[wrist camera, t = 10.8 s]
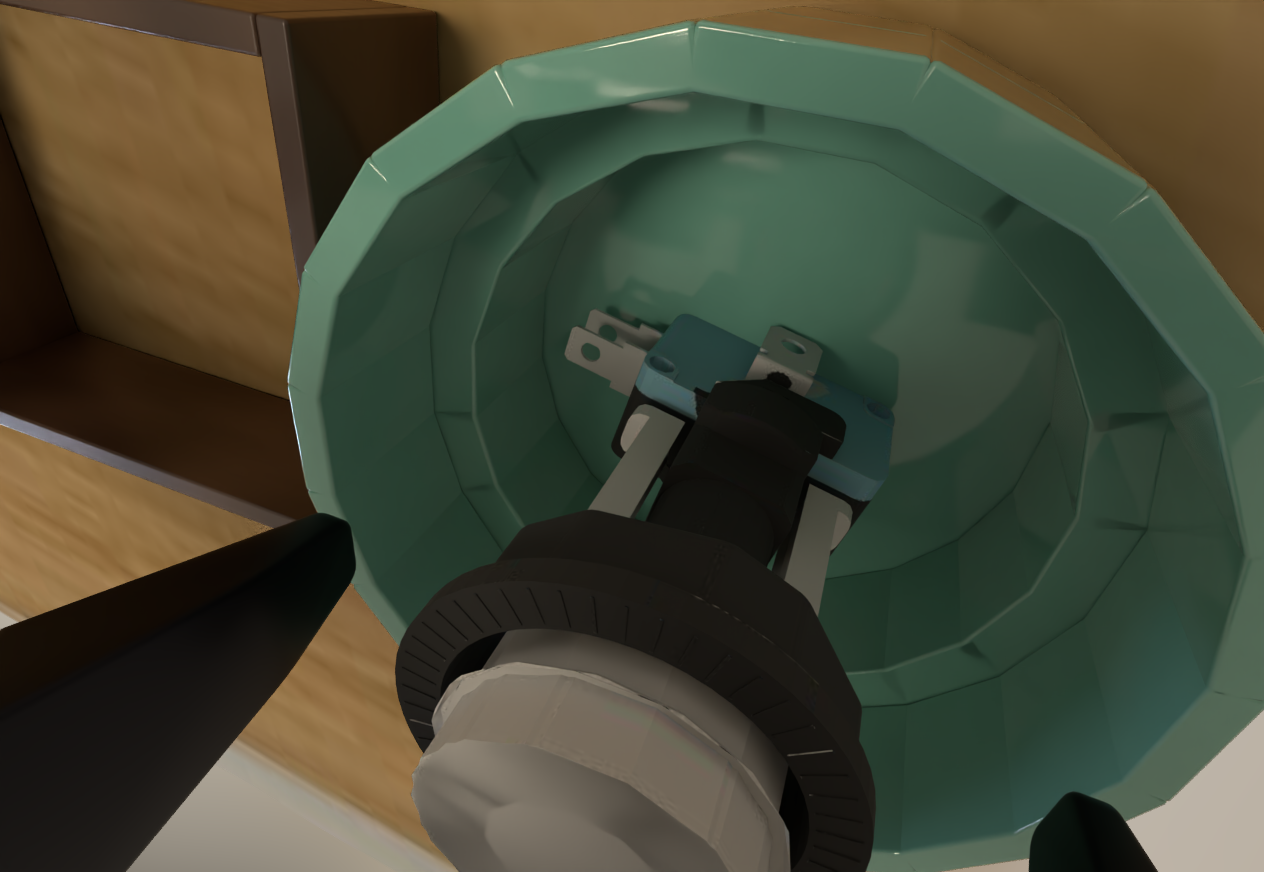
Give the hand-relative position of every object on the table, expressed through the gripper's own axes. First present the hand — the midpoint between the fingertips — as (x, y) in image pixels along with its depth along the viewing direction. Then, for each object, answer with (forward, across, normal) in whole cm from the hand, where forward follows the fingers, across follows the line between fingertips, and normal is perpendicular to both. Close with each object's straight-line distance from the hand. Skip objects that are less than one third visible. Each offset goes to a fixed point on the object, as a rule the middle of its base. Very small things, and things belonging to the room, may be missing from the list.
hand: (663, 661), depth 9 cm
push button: (+8, +1, 0) cm, 8 cm away
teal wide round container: (+8, 0, 0) cm, 8 cm away
